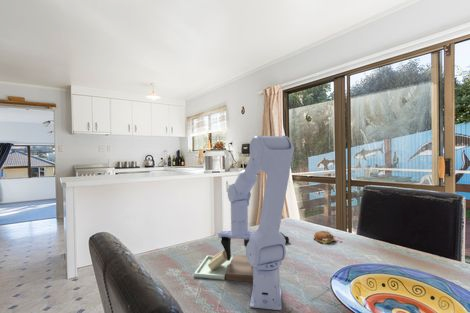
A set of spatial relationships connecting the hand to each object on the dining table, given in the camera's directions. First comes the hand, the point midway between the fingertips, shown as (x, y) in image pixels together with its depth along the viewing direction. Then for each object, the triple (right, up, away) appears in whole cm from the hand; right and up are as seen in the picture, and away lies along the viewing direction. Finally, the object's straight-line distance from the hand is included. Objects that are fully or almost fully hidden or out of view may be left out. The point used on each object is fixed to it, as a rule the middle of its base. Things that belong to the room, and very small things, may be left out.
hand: (240, 259), depth 81 cm
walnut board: (+1, -3, 0) cm, 4 cm away
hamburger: (+40, -3, +26) cm, 48 cm away
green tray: (-9, -4, +2) cm, 9 cm away
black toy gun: (+12, -4, +29) cm, 32 cm away
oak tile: (-7, -1, +1) cm, 7 cm away
